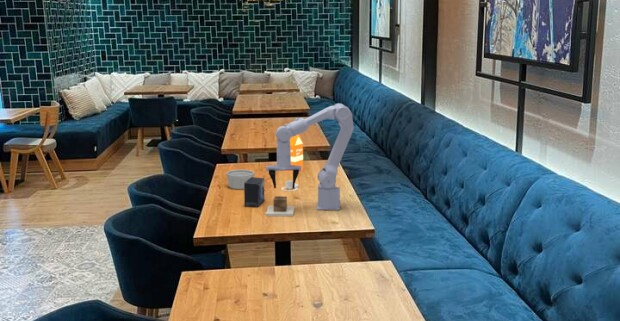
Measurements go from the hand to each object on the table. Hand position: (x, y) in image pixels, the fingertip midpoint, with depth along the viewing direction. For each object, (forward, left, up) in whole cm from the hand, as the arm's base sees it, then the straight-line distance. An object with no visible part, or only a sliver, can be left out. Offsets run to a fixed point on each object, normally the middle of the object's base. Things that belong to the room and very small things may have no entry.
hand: (284, 187), depth 246 cm
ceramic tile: (+1, +4, -9) cm, 10 cm away
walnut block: (+1, +4, -8) cm, 9 cm away
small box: (+13, -8, -10) cm, 18 cm away
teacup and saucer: (-3, -32, -10) cm, 33 cm away
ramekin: (+23, -36, -10) cm, 44 cm away
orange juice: (0, -69, -10) cm, 70 cm away
